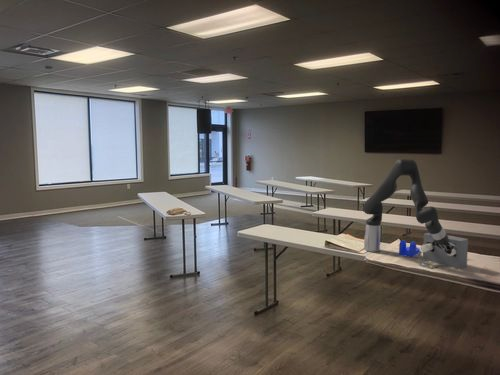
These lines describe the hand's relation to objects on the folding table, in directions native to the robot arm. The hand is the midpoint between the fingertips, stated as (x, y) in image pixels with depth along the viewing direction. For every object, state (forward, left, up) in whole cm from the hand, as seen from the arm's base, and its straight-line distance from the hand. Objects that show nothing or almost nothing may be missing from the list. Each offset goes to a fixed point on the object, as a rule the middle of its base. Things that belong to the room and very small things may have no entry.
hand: (449, 252), depth 219 cm
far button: (-6, +11, -2) cm, 13 cm away
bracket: (-7, +31, -9) cm, 33 cm away
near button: (+4, +2, -2) cm, 5 cm away
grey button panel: (+2, +9, -9) cm, 13 cm away
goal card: (-10, +4, -9) cm, 14 cm away
